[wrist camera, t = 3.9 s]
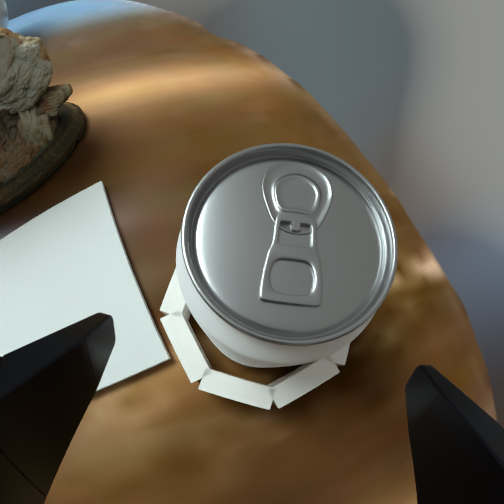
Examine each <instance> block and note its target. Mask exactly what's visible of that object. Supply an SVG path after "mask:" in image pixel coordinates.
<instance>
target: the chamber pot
mask: <svg viewBox="0 0 504 504" xmlns="http://www.w3.org/2000/svg"><path fill="white" fill-rule="evenodd" d="M7 26H8V14H7V5H6V3H5V0H0V27H3V28H6V29H7Z"/></svg>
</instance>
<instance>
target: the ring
mask: <svg viewBox="0 0 504 504" xmlns="http://www.w3.org/2000/svg"><path fill="white" fill-rule="evenodd" d="M160 311H161V312H162V313H164V314H165V315H166V316H165V317H163V318H161V319H160V320H161V322H162V324H163V326H164V329H165V331H166V333H167V335H168V337H169V339H170V341H171V343H172V345H173V348H174V350H175V352H176V354H177V356H178V358H179V360H180V362H181V364H182V366H183V368H184V370H185V372H186V374H187V375H188V377H189V379H190V381H191V383H193V382H196V381H199V380H201V383H200V386H199V389H200V390H203V391H206V392H209V393H212V394H215V395H218V396H222V397H225V398H228V399H231V400H235V401H238V402H242V403H245V404H249V405H253V406H256V407H260V408H264V409H268V410H270V407H271V404H272V403H273V404H274V405H275V406H276V407H277V408H278V409H279V408H281V407H283V406H285V405H286V404H288V403H290V402H292V401H294V400H295V399H297V398H299V397H301V396H302V395H304V394H306V393H307V392H309V391H311V390H312V389H314V388H316V387H317V386H319V385H321V384H322V383H324V382H325V381H327V380H329V379H330V378H332V377H333V376H335V375H336V374H338V373H339V372H340V371H339V369H338V368H337V366H340V365H345V363H346V359H347V355H348V350H349V346H350V343H349V344H348V345H346V346H345V347H343V348H342V349H340V350H338V351H337V352H335V353H333V354H331V355H329V356H327V357H325V358H322V359H319V360H316V361H313V362H309V363H305V364H303V365H302V366H300V367H298V368H297V369H295V370H293V371H291V372H290V373H288V374H286V375H284V376H283V377H281V378H279V379H277V380H275V381H273V382H272V383H270V384H268V385H265V384H261V383H257V382H254V381H250V380H247V379H243V378H240V377H237V376H233V375H230V374H227V373H224V372H220V371H217V370H214V369H213V368H212V366H211V364H210V362H209V360H208V358H207V357H206V355H205V353H204V351H203V349H202V347H201V345H200V343H199V341H198V339H197V337H196V335H195V333H194V331H193V329H192V327H191V325H190V323H189V321H188V320H189V317H190V315H191V312H190V310H189V308H188V306H187V304H186V302H185V300H184V297H183V295H182V292H181V288H180V285H179V280H178V275H177V267H176V269H175V271H174V274H173V276H172V279H171V282H170V284H169V287H168V290H167V292H166V295H165V297H164V300H163V303H162V306H161V308H160Z"/></svg>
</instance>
